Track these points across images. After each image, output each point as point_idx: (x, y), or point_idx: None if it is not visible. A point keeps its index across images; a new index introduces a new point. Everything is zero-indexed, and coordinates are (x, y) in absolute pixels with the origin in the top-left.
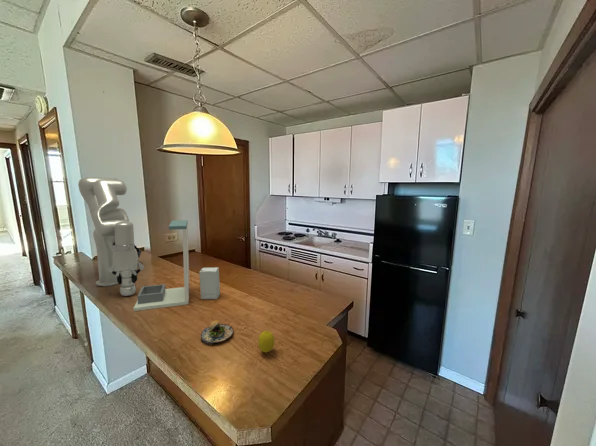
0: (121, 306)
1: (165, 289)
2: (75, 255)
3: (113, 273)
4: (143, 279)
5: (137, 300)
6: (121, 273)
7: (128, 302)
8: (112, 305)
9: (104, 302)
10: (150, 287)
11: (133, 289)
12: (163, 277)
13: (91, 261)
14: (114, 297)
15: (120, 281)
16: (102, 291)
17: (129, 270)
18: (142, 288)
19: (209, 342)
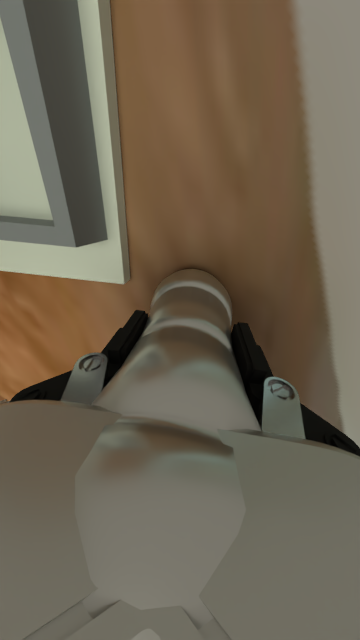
0: (214, 104)
1: (7, 264)
2: None
3: (334, 432)
4: None
5: (106, 110)
6: (237, 394)
7: (178, 176)
8: (270, 158)
9: (306, 238)
10: (20, 222)
11: (157, 287)
12: None
13: None
14: (253, 291)
15: (235, 342)
16: (295, 374)
17: (101, 410)
18: (53, 190)
19: None
